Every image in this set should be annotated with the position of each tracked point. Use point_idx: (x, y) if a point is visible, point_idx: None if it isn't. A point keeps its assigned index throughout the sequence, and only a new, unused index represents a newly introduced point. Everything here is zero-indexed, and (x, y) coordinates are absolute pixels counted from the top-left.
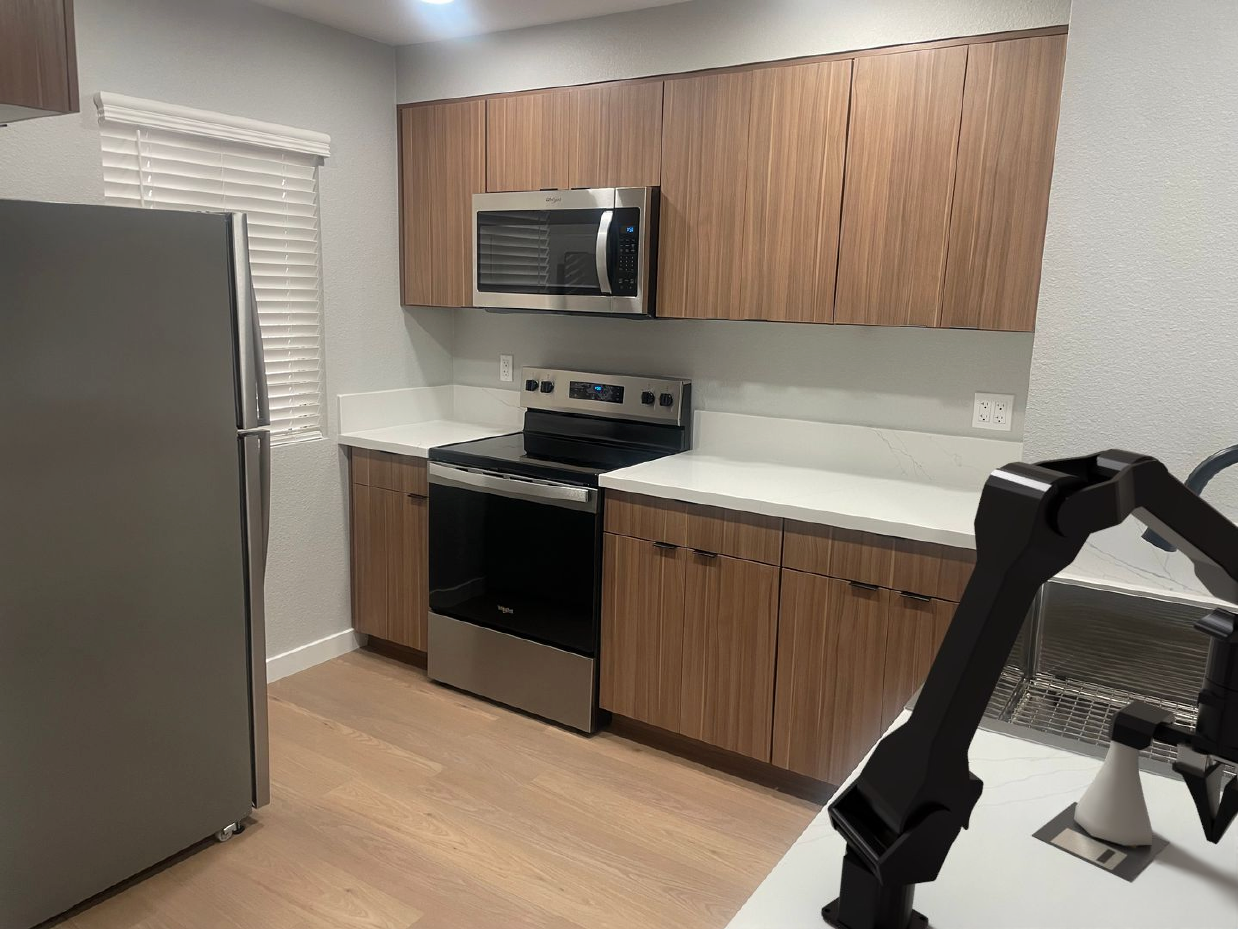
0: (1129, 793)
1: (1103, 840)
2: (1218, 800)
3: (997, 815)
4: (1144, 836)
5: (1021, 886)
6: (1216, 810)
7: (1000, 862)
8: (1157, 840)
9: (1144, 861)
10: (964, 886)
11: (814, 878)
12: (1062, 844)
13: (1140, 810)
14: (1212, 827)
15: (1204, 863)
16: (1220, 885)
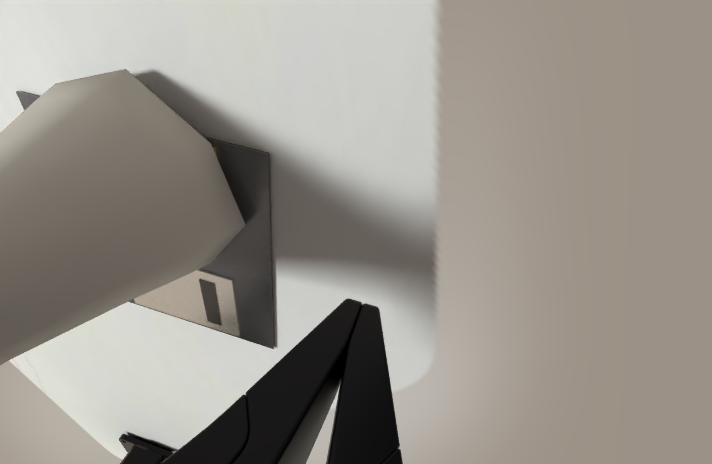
0: (73, 323)
1: None
2: (290, 450)
3: None
4: (217, 243)
5: (191, 397)
6: (311, 420)
7: (144, 366)
8: (243, 168)
9: (264, 282)
10: (161, 411)
11: (99, 429)
12: (149, 302)
13: (145, 279)
14: (334, 396)
15: (372, 207)
16: (418, 287)
